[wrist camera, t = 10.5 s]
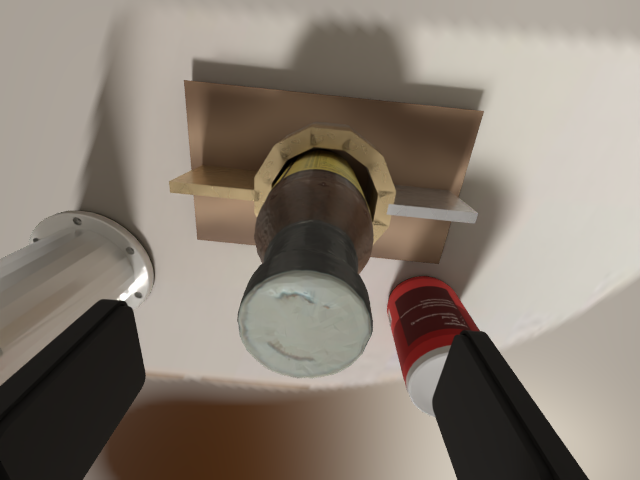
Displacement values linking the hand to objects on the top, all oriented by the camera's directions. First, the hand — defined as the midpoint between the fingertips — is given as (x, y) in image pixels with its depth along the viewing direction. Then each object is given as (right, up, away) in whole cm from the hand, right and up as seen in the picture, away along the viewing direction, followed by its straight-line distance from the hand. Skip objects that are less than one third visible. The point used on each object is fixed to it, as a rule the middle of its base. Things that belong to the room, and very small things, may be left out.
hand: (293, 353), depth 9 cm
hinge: (+1, +9, +18) cm, 20 cm away
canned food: (+12, -4, +25) cm, 28 cm away
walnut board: (+1, +9, +19) cm, 22 cm away
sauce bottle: (+1, +9, +18) cm, 20 cm away
